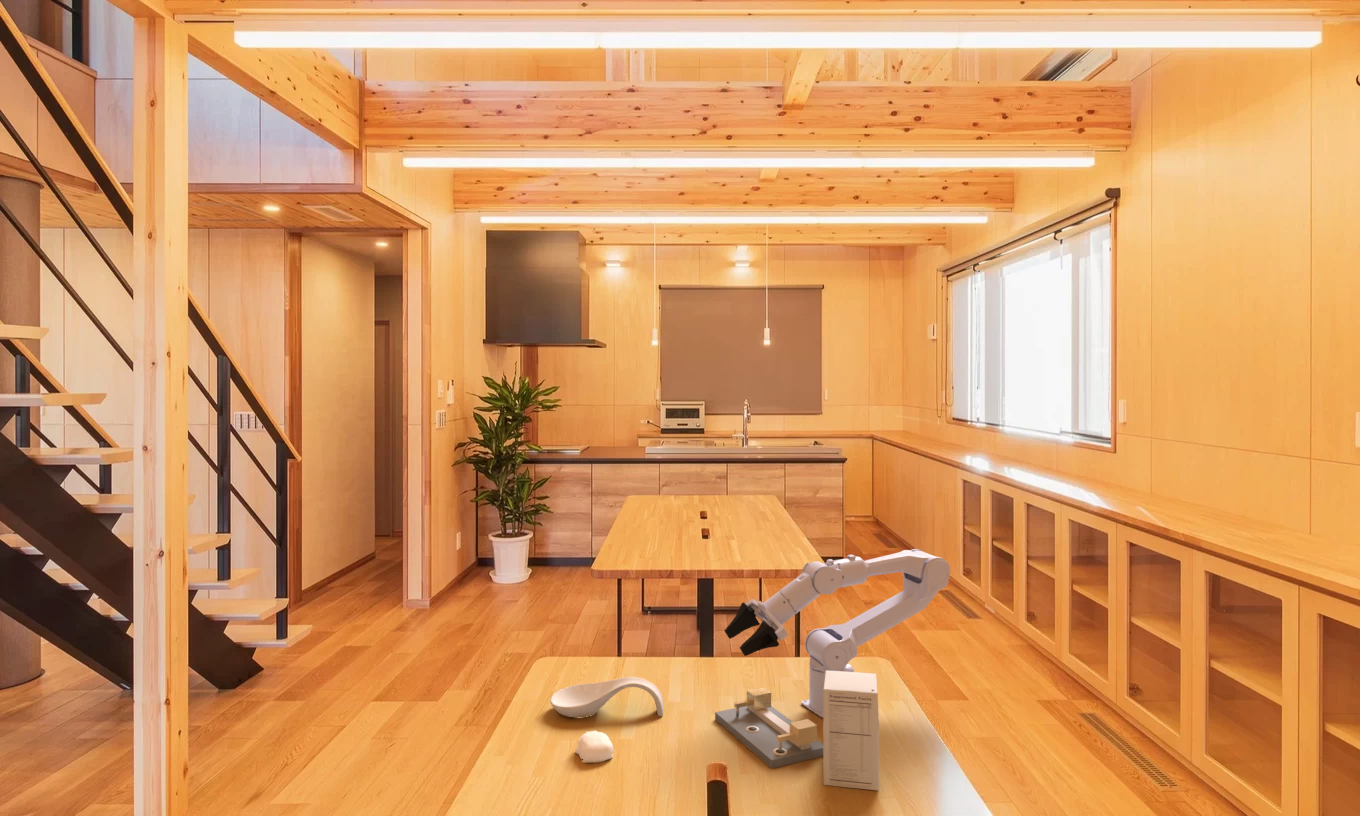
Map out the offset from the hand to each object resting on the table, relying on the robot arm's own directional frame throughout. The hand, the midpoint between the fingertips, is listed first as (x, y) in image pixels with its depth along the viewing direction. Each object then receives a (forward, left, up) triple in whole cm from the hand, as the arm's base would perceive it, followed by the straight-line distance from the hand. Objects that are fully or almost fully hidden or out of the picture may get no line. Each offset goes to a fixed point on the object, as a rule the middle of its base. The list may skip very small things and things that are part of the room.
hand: (734, 643), depth 155 cm
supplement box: (-8, +28, -16) cm, 33 cm away
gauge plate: (-2, +10, -16) cm, 18 cm away
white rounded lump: (+31, +2, -16) cm, 35 cm away
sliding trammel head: (-3, +3, -14) cm, 14 cm away
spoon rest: (+23, -14, -16) cm, 31 cm away
